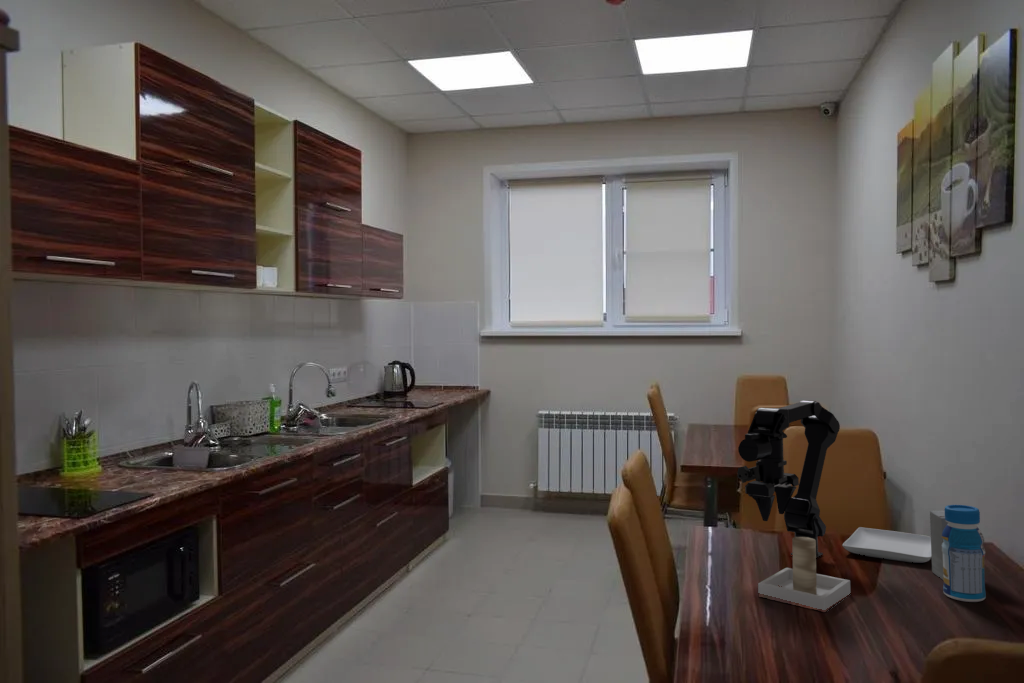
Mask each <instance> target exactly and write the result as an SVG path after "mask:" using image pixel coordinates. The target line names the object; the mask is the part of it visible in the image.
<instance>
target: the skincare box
mask: <svg viewBox="0 0 1024 683" xmlns="http://www.w3.org/2000/svg"><path fill="white" fill-rule="evenodd" d="M929 523H930V526H929V527H930V530H929V531H930V536H931V555H932V557H931V572H932V573H933V574H934V575H936V576H937V577H938V578H939V577H940V579H941V580H942V581H944V577H943V553H942V551H941V545H942V543H943V539H942V532H943V530H944V528H945V527H946V525H947V524H948V522H946V520H945V510H930V511H929ZM976 526H977V527H978V525H976Z"/></svg>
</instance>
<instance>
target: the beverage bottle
mask: <svg viewBox="0 0 1024 683" xmlns="http://www.w3.org/2000/svg"><path fill="white" fill-rule="evenodd" d="M944 511H945V520H946V522H948V524H947V525H946V527H945V528H944V530H943V532H942V539H943V543H942V545H941V551H942V553H943V577H944V580H943V586H942V589H943V590H942V591H943V594H944V595H945V596H946V597H948V598H951V599H952V600H955V601H956V600H957V601H961V602H967V603H968V602H969V603H978V602H982V601H984V600H985V599H986V598H987V595H986V582H985V581H986V580H985V576H986V575H985V557H986V549H985V547H984V543H985V538H984V534H983V533H982V531H981V530H980V528H979V527H978V525H980V521H981V514H980V513H981V512H980V509H979V508H978V507H976V506H972V505H965V504H949V505H946V506H945V507H944ZM976 525H977V526H976Z"/></svg>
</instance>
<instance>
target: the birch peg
mask: <svg viewBox="0 0 1024 683" xmlns="http://www.w3.org/2000/svg"><path fill="white" fill-rule="evenodd" d="M791 538H792V539H791V540H792V541H791V542H792V544H791V545H792V546H791V547H792V553H793V556H792V569H793V590H797V591H802V592H806V593H810V594H815V595H816V594H817V589H816V574H817V559H816V540H815V539H813V538H808V537H795V536H794V537H791Z"/></svg>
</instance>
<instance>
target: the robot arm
mask: <svg viewBox="0 0 1024 683" xmlns="http://www.w3.org/2000/svg"><path fill="white" fill-rule="evenodd" d="M797 421H800V424H801V425H802V427H803V428H804V436H805V438H806V441H807V448H806V452H805V457H804V462H803V465H802V470H801V474H800V479H799V477H798V476H797V474H795V473H789V472H788V473H787V472H785V468H784V466H787V465H788V463H787V462H788V461H787V460H784V439H787V438H788V434H786V433H785V432H784V431H785V430H786V429H788V428H789V427H790V424H791V423H794V422H797ZM840 425H841V424H840V422H839V420H838V419H837V417H836V416H835V415H834V413H832V412H831V411H830V410H828V409H826V408H824V406H822V404H821V403H820V402H819V401H816V400H800V401H799V402H796V403H792V404H789V405H785V406H782V407H778V408H777V407H776V408H775V407H758V409H756V412H755V413H754V415H753V418H752V421H751V422H750V426H749V428H748V431H747V433H745V434H744V439H743V440H741V441H740V443H738V444H739V445H738V448H737V449H738V450H737V451H738V453H739V456H740V458H741V459H742V460H743V461H745V462H748V463H751V462H755V466H753V467H749V468H748V466H747V465H744V466H740V467H737V471H736V473H737V475H736V477H737V479H739V480H741V483H742V484H744V483H747V484H746V485H744V492H745V494H746V495H748V496H749V497H751V498H752V499H753V500H754V501H755V502H756V505H757V507H758V510H759V512H760V516H761V519H762V521H764V522H768V520H769V518H770V516H771V515H770V514H771V511H772V507H773V504H774V501H775V497H776V503H777V511H778V514H780V515H783V519H784V523H785V527H786V530H787V532H789V533H791V532H792V533H794V537H808V538H813V539H815V540H816V558H817V557H818V558H820V557H822V556H823V555H824V552H822V551H820V552H819V542H818V537H824V536H825V535H826V529H827V525H826V524H825V523H824V521H823V520H822V518H821V517H820V514H821V509H820V506H819V503H818V501H817V496H818V491H819V487H820V482H821V477H822V473H823V469H824V465H825V461H826V455H827V451H828V448H830V447H831V446H832V444H834V443H835V442H836V440H837V436H838V434H839V432H840V430H841V429H840V427H841V426H840ZM797 486H798V488H797ZM796 490H797V491H796ZM795 491H796V494H795V495H794V492H795ZM774 494H775V495H774ZM793 495H794V496H793ZM790 554H791V555H793V552H791V553H790ZM791 555H790V556H791ZM821 555H822V556H821ZM819 556H820V557H819ZM818 558H817V559H818Z"/></svg>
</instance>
